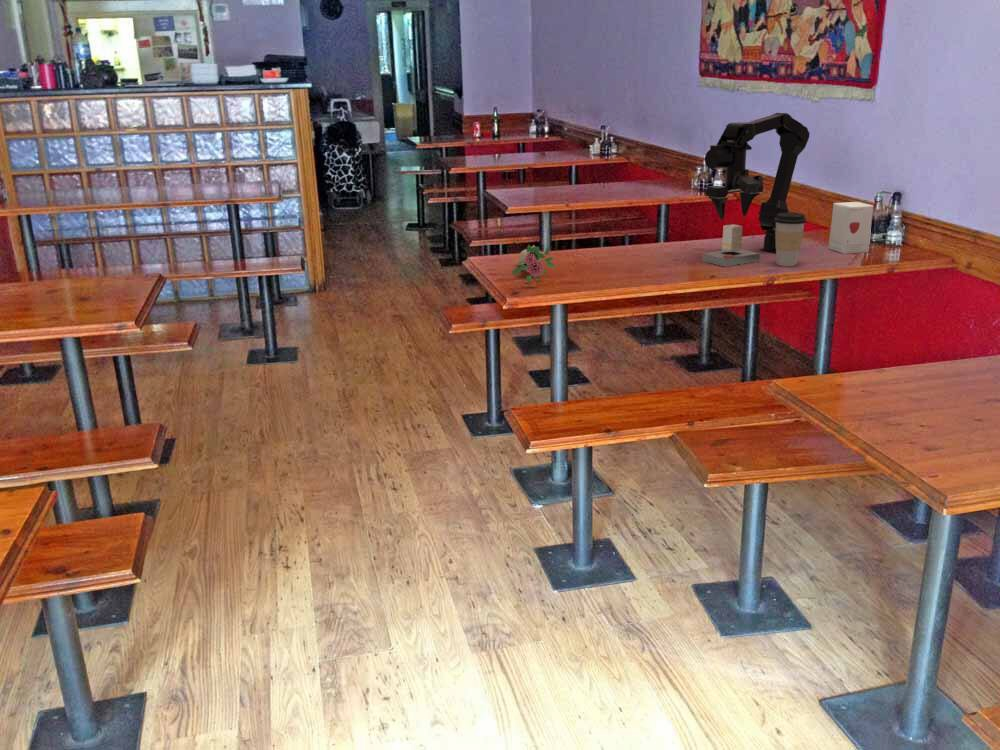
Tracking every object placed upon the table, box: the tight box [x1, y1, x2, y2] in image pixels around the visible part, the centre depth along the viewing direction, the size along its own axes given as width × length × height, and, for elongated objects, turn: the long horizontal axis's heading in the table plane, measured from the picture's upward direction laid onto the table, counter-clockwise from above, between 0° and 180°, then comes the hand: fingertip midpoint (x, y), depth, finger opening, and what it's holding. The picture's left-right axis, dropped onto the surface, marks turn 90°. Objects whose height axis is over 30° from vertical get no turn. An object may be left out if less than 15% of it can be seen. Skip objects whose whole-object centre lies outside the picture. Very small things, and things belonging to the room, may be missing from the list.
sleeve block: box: [701, 248, 761, 267], centre depth 286 cm, size 14×10×3 cm
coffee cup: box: [774, 212, 808, 267], centre depth 279 cm, size 9×9×15 cm
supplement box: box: [828, 201, 874, 255], centre depth 296 cm, size 9×9×15 cm
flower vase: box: [511, 244, 556, 282], centre depth 270 cm, size 12×12×35 cm
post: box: [721, 223, 743, 252], centre depth 284 cm, size 4×4×7 cm
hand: (733, 217), depth 287 cm, fingers open, 9 cm apart
